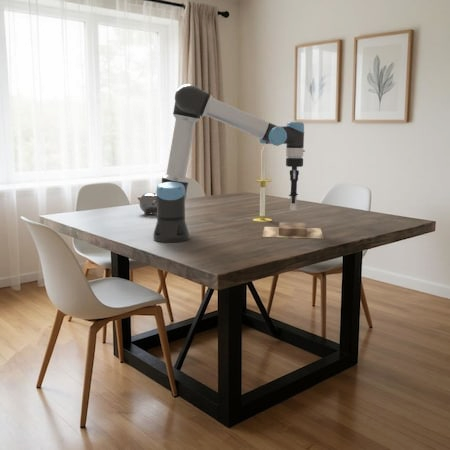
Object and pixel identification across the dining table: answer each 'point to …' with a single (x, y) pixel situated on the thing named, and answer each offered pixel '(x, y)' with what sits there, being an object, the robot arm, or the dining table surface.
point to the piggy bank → (148, 203)
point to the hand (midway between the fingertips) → (293, 210)
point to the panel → (292, 229)
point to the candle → (262, 188)
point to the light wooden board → (274, 232)
